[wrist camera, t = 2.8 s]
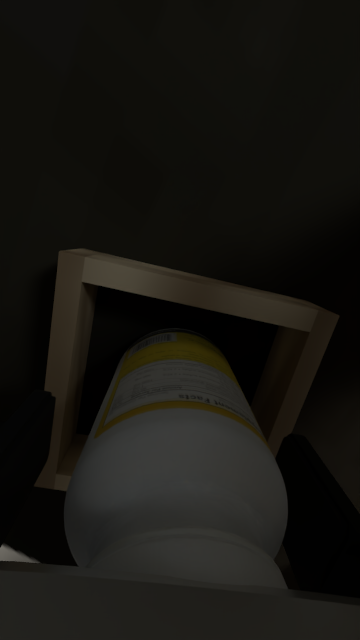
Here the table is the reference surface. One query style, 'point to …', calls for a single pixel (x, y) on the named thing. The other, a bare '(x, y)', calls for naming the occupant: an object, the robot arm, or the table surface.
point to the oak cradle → (163, 283)
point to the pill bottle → (177, 472)
